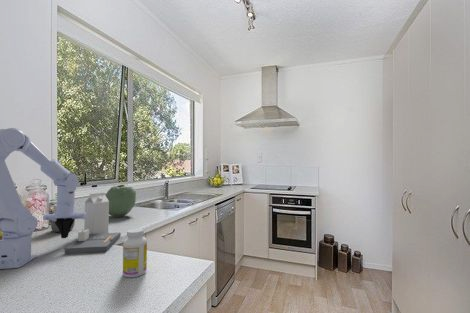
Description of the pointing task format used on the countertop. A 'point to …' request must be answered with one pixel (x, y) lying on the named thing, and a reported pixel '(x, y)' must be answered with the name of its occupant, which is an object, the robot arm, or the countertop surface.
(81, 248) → the console board
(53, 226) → the smart speaker
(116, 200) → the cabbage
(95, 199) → the milk carton
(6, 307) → the countertop surface
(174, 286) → the countertop surface
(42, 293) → the countertop surface
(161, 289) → the countertop surface
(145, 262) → the supplement bottle
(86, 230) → the fader knob
